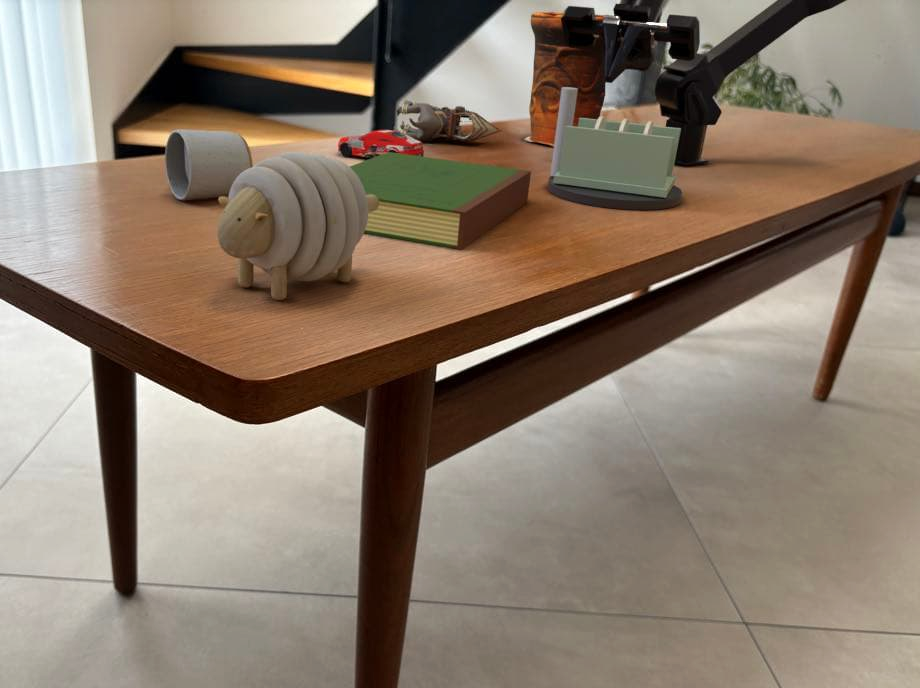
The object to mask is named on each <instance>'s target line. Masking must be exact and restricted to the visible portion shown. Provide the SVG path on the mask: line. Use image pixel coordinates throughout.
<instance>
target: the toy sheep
mask: <svg viewBox="0 0 920 688" xmlns="http://www.w3.org/2000/svg"><path fill="white" fill-rule="evenodd" d="M218 202H219V204H220V205H221V206H223V207H224V209H223V210H222V213H221V215H220V218H219V222H218V225H217V231H216V232H217V234H216V235H217V240H218V244H219V245H220V248H221V249H222V250H223V252H224V253H226V254H227V255H228V256H230V257H233V258H235V259H237V261H238V262H237V267H238V268H237V281H238V285H239V286H240V287H243V288H250V287H251V286H253V284H254V266H255V267H257V268H260V269H261V270H262V271H263V272H264V273H266V274H267V275H269V276H270V285H271V286H270V295H271V298H272V299H273V300H276V301H283V300H285V299H286V298H287V295H288V291H287V289H288V280H296V281H299V282H314V281H317V280H319V279H322V278H323V277H325V276H327V275H328V274H330V273H333V272H336V277H337V280H338V281H339V282H340V283H348V282H350V281H351V280H352V275H353V274H352V271H353V254H354V251H355V249H356V246H357V245H358V244H359V243H360V241H361V239H362V238H363V236H364V234H365V233H364V231H365V228H366V225H367V221H368V212H371V211H375V210H377V209H378V207H379V200H378V198H377V197H376V196H375V195H366V194H365V190H364V188H363V185H362V183H361V181H360V179H359V177H358V176H357V174H356V173H355V172H354V171H353V170H352V169H351V168H350V166H349V165H348V164H347V163H345V162H344V161H342V160H339V159H337V158H333V157H327V156H324V155H323V154H319V153H314V152H302V151H297V150H296V151H295V150H293V151H285V152H282V153H279V154H277V155H275V156H273V157H267V158H264V159H262V160H260V161H258V162H257V163H255V164H253V167H251V168H249V169H247V170H245V171H243V172H242V173H241V174H240V175H239V176H238V177H237V178H236V180H235V181H234V183H233V184H232V187H231V189H230V192H229V196H228V197H225V196H222V197H218Z"/></svg>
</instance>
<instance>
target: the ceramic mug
mask: <svg viewBox="0 0 920 688" xmlns="http://www.w3.org/2000/svg"><path fill="white" fill-rule="evenodd" d="M251 151H252V150H251V148H250V145H249V144H248V142H247V140H246V139H245V138H244V137H243V136H242V135H241V134H238V133H236V132H231V131H228V130H227V131H226V130H198V129H187V128H186V129H185V128H184V129H183V128H181V129H180V128H178V129H173V130H172V132H171V133H169V136H168V137H167V141H166V146H165V151H164V163H165V164H164V165H165V173H166V178H167V182H168V185H169V188H170V190H171V192H172V194H173V196H174V197H175V198H176V199H177V200H179V201H194V200H205V199H206V200H207V199H213V198H219V197H222V196H225V197H227V198H228V196H229V192H230V189H231V187H232V184H233V183H234V181H235V180H236V178H237V177H238V176H239V175H240V174H241V173H242V172H243V171H245V170H247V169H249V168H251V167H253V166H254V164H253V163H254V162H253V156H252V152H251Z"/></svg>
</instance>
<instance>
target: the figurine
mask: <svg viewBox="0 0 920 688" xmlns="http://www.w3.org/2000/svg"><path fill="white" fill-rule="evenodd" d="M395 110H396V115H397V116H400V115H401V114H402V115H404V116H405V115H408V114H409V115H410V114H416V115H418V114H419V116H418V118H417V121H414V120H413V118H411V117H409V122H410V124H411V125H410V124H408V123H406V124H405V121H404V120H402V121H401V124H400V125H399V128H401V129H400V130H399V129H398V128H397V127H396V126H394V127H393V131H397V132H401V133H403V134H406V135H409V136H410V137H412V138H414V139H416V140H418V141H420V142H422V143H424V142H427V141H428V140H435V139H438V138H446V139H449V140H456V141H460V142H464V143H467V142H468V143H469V142H474V141H477V140H480V139H483V138H486V137H488V136H491V135H494V134H498V133H501V132H503V131H502V129H499V128H498V127H496V126H495V125H493V124H492V123H490V122H489V121H488V120H487V119H485V118H484V117H482V116H481V115H480V114H479V113H477V112H474V111H472V110H471V111H470V110H467V109H466V107H464V106H462V105H456V106H455V107H454V108H451V107H450V108H449V107H448V106H443V107H441V108H440V107H438V106H433V105H431V104H429V103H425V102H418V101H416V100H413V101H410V100H407V99H404V102H402V106H400V105H398V106H397V108H396V109H395ZM461 118H463V119H468V120H465V121H462V120H461ZM464 122H465V123H472V126H471V132H469V134H467V133H466V132H463V133H462V128H463V126H462V125H460V123H464ZM411 126H413V127H411ZM414 127H415V128H414Z"/></svg>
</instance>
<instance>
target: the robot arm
mask: <svg viewBox="0 0 920 688" xmlns="http://www.w3.org/2000/svg"><path fill="white" fill-rule="evenodd" d="M847 1H848V0H775V1H774V2H773V3H771V4H770V5H769V6H767V7H766V8H764V9H763V10H762V11H760V13H758V14H757V15H755V16H754V17H753V18H751V19H750V20H749V21H747V22H746V23H745V24H744V25H741V27H739V28H738V29H737V30H735V31H734V32H733V33H731V34H730V35H729V36H727V37H726V38H724V39H723V40H722V41H720V42H719V43H717V45H715V46H714V47H712V48H711V49H710V50H708V51H707V52H705V53H698V51H699V48H700V43H701V40H700V39H701V35H700V32H701V31H700V29H701V28H700V27H701V26H700V20H699V18H698V17H697V16H693V15H683V14H668V16H667V18H666V23H660V22H661V20H662V15H663V7H664V5H665V2H666V0H620V1H619V3H615V4H614V7H613V9H612V10H613V15H610V14H603V15H604V17H603V21H599V20H596V17H595V15H596V11H595V8H594V7H591V6H590V7H588V6H578V5H577V6H576V5H568V6H567V7H566V8H565V9H564V10H563V12H562V13H563V15H562V17H561V23H562V28H563V33H564V38H565V43H566V45H567V46H568V47H569V48H575V49H585V50H587V49H589V48H591V47H593V46H594V44H595V42H596V38H599V42H600V48H601V52H602V53H603V54H604V55H606V64H605V80H606V83H609V84H613V83H614V81H616V80H617V78H619V76H621V75H622V74H623V73H624V72H625V71H626V70H630V71H631V70H632V71H638V72H642V73H644V72H647V71H648V70H649V69H650V68H651V66H653V65H652V64H653V63H654V62H655V61H656V59H657V57H658V56H657V55H658V42H663V43H669V44H670V45H669V48H668V50H667V52H668V53H667V54H668V55H669V57H670V58H671V59H672V60H675V61H673V62H672V63H670V64H667V65H664V66H663V67H662V68H663V70H664V71H663V72H662V73H661V74H659V76H658V77H657V79H656V81H655V86H654V96H655V99H656V102H657V103H658V104H659V110H660V111H659V112H660V116H661V117H664V118H665V117H666V118H668V119H666V120H665V121H666V122H665V126H664V127H672V128H681V132H680V137H679V142H678V147H677V152H676V157H675V163H674V165H677V166H685V167H687V166H694V165H695V166H696V165H702V164H709V162H710V159H708V158H703V157H702V154H703V149H704V144H705V140H706V134H707V129H708V126H716V125H717V123H718V121H719V119H720V117H721V115H722V114H723V112H722V110H721V108H720V107H719V105H718V103H717V102H716V100H715V99H714V97H715V95H716V94H718V92H719V90H720V89H721V87H722V85H723V83H724V81H725V79H726V78H727V77H728V76H729V75H731V74H732V73H733V72H735V71H736V70H737V69H739V68H740V67H741V66H742V65H744V64H745V63H746V62H748V61H749V60H751V59H752V58H754V57H755V56H756V55H757V54H759V53H760V52H761V51H763V50H764V49H766V48H767V47H768V46H769V45H771V44H772V43H774V42H775V41H776V40H778V39H780V37H782V36H783V35H785V34H786V33H787V32H788V31H790V30H791V29H793V28H794V27H795V26H797V25H798V24H799V23H801V22H802V21H803V20H805V19H806V18H808V17H812V16H814V15H817V14H819V13H823V12H825V11H829V10H831V9H833V8H835V7H837V6H839V5H841V4H843V3H845V2H847Z"/></svg>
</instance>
